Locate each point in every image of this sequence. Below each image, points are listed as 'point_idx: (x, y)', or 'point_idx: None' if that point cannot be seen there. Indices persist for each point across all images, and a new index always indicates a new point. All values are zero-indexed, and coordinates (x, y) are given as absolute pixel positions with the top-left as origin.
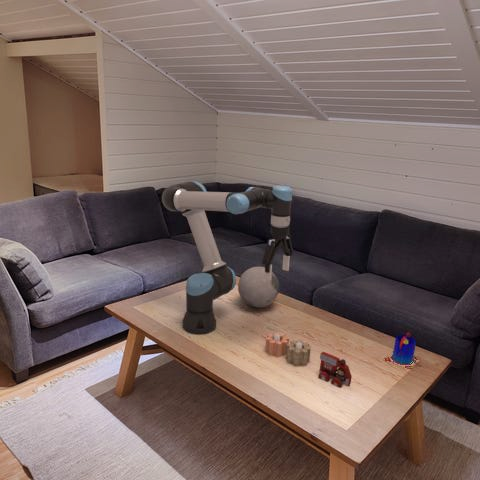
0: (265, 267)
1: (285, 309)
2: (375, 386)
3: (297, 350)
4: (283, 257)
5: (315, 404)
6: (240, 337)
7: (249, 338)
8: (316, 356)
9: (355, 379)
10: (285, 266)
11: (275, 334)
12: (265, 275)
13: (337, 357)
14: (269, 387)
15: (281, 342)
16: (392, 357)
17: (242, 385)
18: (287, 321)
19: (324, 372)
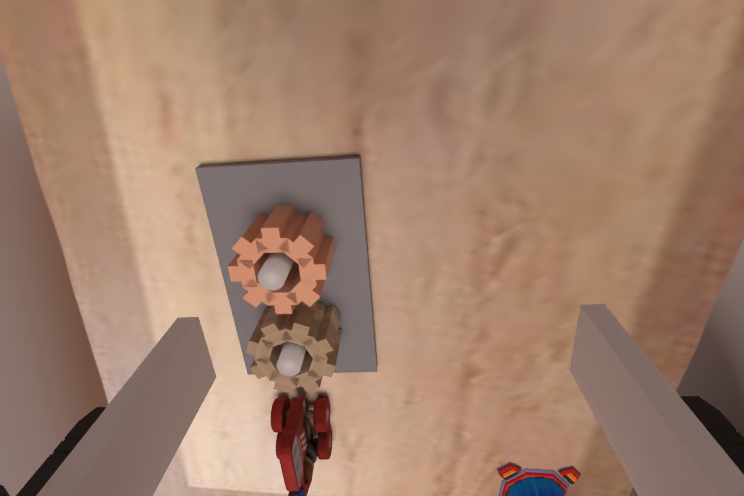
0: (38, 480)
1: (693, 24)
2: (368, 481)
3: (263, 368)
4: (682, 455)
5: (196, 423)
6: (271, 45)
7: (298, 86)
8: (383, 338)
9: (359, 446)
10: (597, 374)
11: (268, 271)
12: (159, 354)
13: (296, 489)
14: (143, 321)
15: (263, 301)
16: (524, 479)
17: (77, 263)
18: (559, 120)
19: (278, 427)
